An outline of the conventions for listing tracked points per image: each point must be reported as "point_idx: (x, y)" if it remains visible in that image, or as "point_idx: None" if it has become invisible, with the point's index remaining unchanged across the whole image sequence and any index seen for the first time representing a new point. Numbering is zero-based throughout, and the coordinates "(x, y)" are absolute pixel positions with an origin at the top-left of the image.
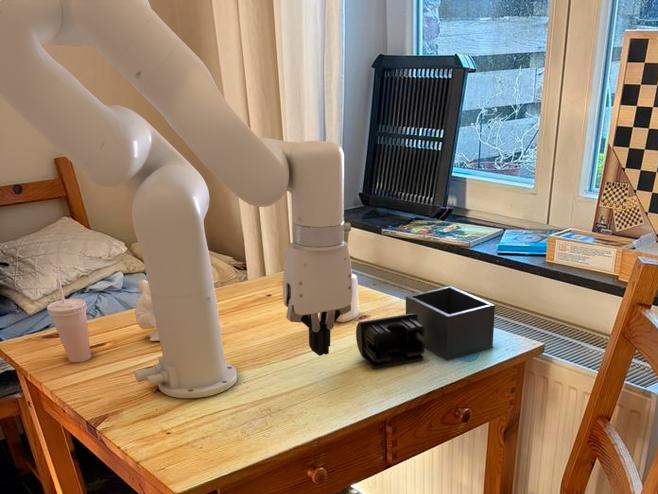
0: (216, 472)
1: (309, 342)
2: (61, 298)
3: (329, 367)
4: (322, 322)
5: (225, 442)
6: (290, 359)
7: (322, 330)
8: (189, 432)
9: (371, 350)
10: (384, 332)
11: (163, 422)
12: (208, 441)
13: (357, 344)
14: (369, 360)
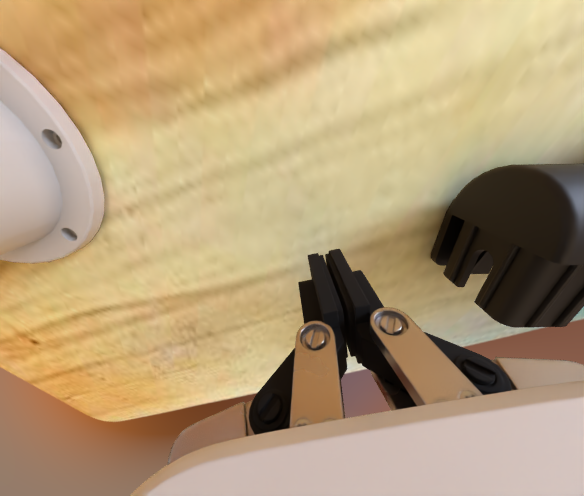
0: (135, 412)
1: (300, 291)
2: None
3: (351, 206)
4: (373, 357)
5: (134, 377)
6: (267, 93)
7: (352, 348)
8: (70, 348)
9: (465, 273)
10: (545, 326)
11: (4, 312)
12: (109, 371)
13: (482, 178)
14: (449, 232)
